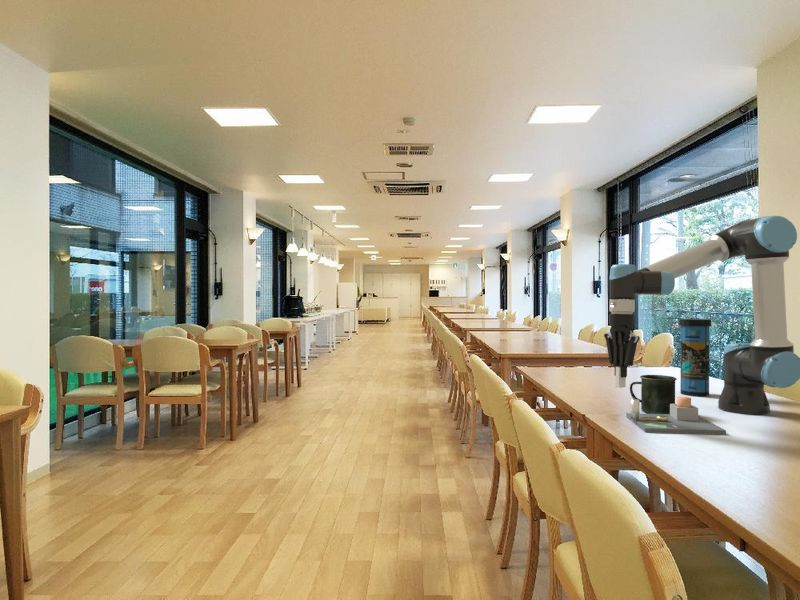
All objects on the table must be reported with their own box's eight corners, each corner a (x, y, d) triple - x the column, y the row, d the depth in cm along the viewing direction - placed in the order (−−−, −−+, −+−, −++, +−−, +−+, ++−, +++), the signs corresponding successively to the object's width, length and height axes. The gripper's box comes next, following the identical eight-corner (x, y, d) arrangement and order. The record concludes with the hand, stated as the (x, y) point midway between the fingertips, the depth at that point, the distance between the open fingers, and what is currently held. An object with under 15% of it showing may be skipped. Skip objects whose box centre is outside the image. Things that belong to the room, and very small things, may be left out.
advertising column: (672, 392, 222) (672, 318, 222) (694, 391, 226) (694, 318, 225) (694, 397, 212) (695, 320, 211) (717, 395, 215) (718, 319, 215)
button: (688, 412, 174) (688, 396, 174) (693, 415, 170) (693, 399, 170) (674, 412, 174) (674, 396, 174) (679, 415, 170) (679, 398, 170)
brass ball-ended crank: (666, 418, 170) (666, 399, 170) (669, 421, 166) (669, 401, 166) (629, 417, 171) (629, 398, 171) (632, 420, 168) (632, 400, 168)
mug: (675, 417, 178) (675, 380, 178) (627, 412, 186) (627, 377, 186) (677, 411, 188) (677, 376, 187) (631, 406, 195) (631, 373, 195)
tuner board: (697, 418, 176) (697, 403, 176) (726, 434, 156) (726, 417, 156) (626, 416, 179) (626, 401, 179) (645, 432, 159) (645, 415, 159)
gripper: (597, 312, 179) (596, 384, 179) (628, 313, 167) (627, 391, 167) (615, 312, 181) (614, 383, 182) (647, 313, 169) (645, 389, 170)
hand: (620, 387), depth 174 cm, fingers closed
